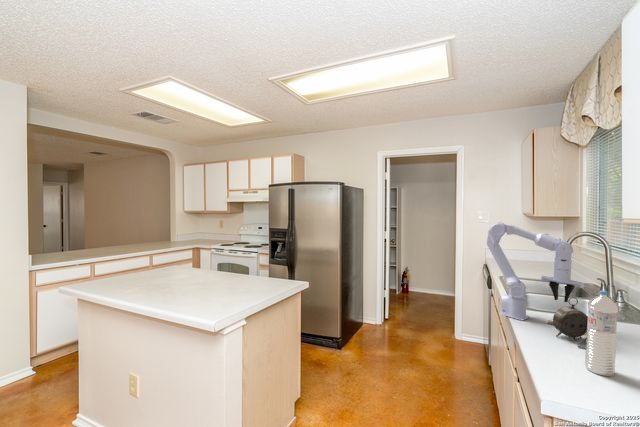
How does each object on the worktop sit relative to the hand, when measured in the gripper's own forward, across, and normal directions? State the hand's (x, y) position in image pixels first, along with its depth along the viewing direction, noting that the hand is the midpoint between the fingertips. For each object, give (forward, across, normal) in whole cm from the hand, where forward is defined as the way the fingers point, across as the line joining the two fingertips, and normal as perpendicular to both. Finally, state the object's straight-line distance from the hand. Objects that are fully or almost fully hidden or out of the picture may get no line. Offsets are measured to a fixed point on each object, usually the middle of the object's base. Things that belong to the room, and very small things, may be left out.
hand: (561, 300), depth 132 cm
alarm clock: (+11, -7, +14) cm, 19 cm away
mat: (+10, -14, +14) cm, 23 cm away
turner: (+10, -4, +2) cm, 11 cm away
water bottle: (+11, -19, +36) cm, 42 cm away
